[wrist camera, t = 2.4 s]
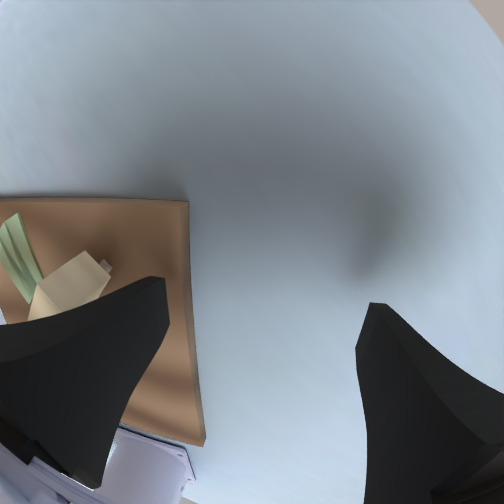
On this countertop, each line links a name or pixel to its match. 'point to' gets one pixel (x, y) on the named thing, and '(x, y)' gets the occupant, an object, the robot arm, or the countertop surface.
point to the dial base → (115, 286)
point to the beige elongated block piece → (69, 287)
